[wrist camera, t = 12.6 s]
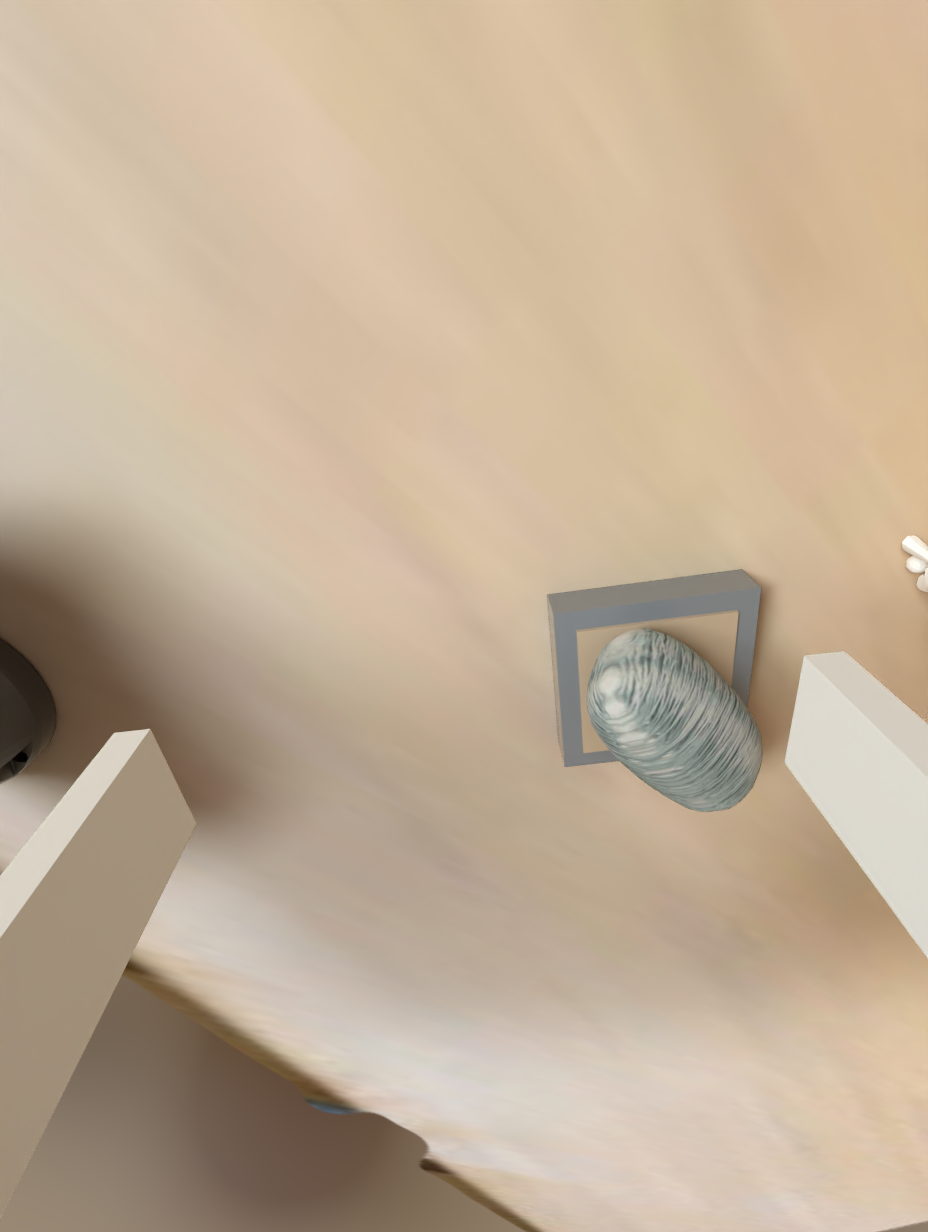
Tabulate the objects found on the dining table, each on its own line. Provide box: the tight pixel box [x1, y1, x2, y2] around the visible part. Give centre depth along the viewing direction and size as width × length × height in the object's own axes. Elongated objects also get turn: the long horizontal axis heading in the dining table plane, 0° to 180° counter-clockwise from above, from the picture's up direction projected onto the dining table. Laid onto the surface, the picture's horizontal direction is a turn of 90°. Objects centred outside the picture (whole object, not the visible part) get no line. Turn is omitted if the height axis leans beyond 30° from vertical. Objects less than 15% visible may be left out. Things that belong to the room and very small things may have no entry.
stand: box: [547, 569, 761, 767], centre depth 43 cm, size 14×14×3 cm
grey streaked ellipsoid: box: [586, 628, 762, 812], centre depth 39 cm, size 14×10×10 cm
